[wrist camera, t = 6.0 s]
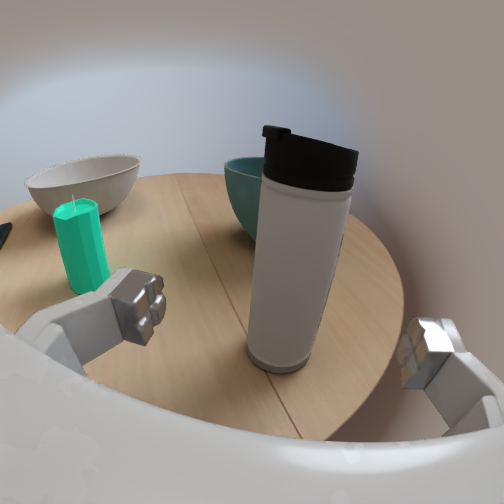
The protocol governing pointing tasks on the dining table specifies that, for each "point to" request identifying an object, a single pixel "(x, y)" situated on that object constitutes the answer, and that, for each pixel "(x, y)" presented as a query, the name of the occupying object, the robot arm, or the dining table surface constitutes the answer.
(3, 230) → the smartphone
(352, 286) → the dining table surface
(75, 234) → the candle
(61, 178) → the bowl
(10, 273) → the dining table surface
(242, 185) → the deep teal bowl
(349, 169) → the travel mug
